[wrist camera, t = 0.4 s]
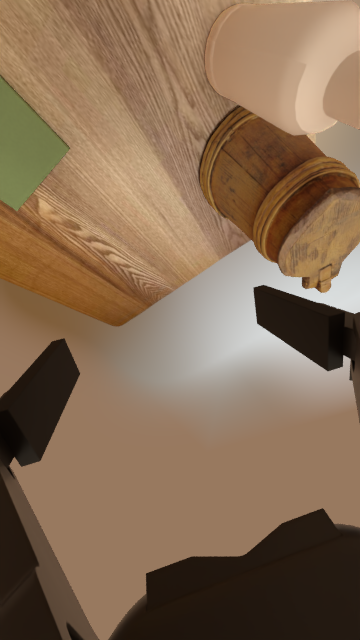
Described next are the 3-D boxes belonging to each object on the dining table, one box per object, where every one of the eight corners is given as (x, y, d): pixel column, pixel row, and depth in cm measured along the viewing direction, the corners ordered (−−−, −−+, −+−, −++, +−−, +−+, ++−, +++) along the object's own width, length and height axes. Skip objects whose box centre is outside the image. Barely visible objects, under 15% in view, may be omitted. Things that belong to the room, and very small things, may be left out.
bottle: (245, 99, 34) (406, 185, 17) (197, 90, 32) (329, 179, 15) (269, 12, 28) (557, 13, 11) (212, -6, 26) (462, -40, 9)
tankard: (282, 63, 32) (441, 103, 18) (301, 193, 50) (389, 265, 36) (181, 155, 38) (241, 240, 24) (230, 242, 56) (282, 321, 42)
